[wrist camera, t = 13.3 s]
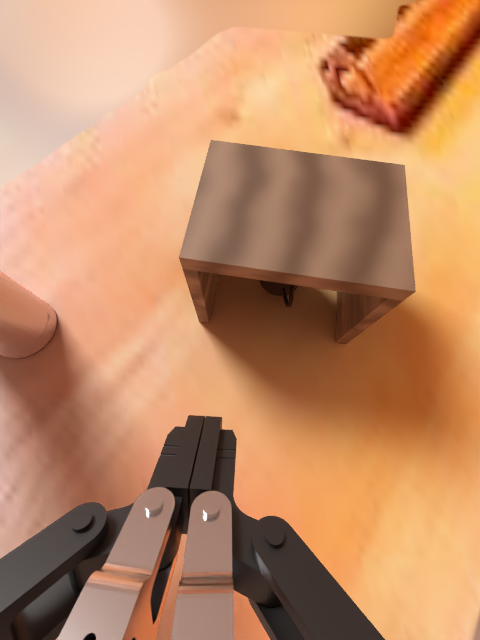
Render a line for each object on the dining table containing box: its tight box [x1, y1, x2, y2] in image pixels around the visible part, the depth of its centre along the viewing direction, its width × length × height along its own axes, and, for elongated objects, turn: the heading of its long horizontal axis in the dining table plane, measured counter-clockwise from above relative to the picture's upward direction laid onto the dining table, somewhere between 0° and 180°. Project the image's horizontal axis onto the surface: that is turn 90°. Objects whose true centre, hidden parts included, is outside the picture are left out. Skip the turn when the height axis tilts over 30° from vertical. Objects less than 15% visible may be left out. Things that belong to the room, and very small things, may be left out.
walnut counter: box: [179, 140, 415, 344], centre depth 37 cm, size 22×16×17 cm
